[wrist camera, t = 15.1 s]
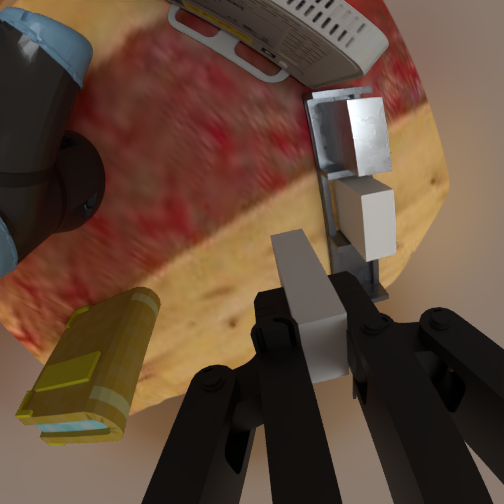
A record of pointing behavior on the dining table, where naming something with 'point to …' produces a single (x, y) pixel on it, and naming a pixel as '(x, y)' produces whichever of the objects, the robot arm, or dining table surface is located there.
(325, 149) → the rack
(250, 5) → the network device
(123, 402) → the book
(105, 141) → the dining table surface
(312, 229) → the dining table surface
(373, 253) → the block
